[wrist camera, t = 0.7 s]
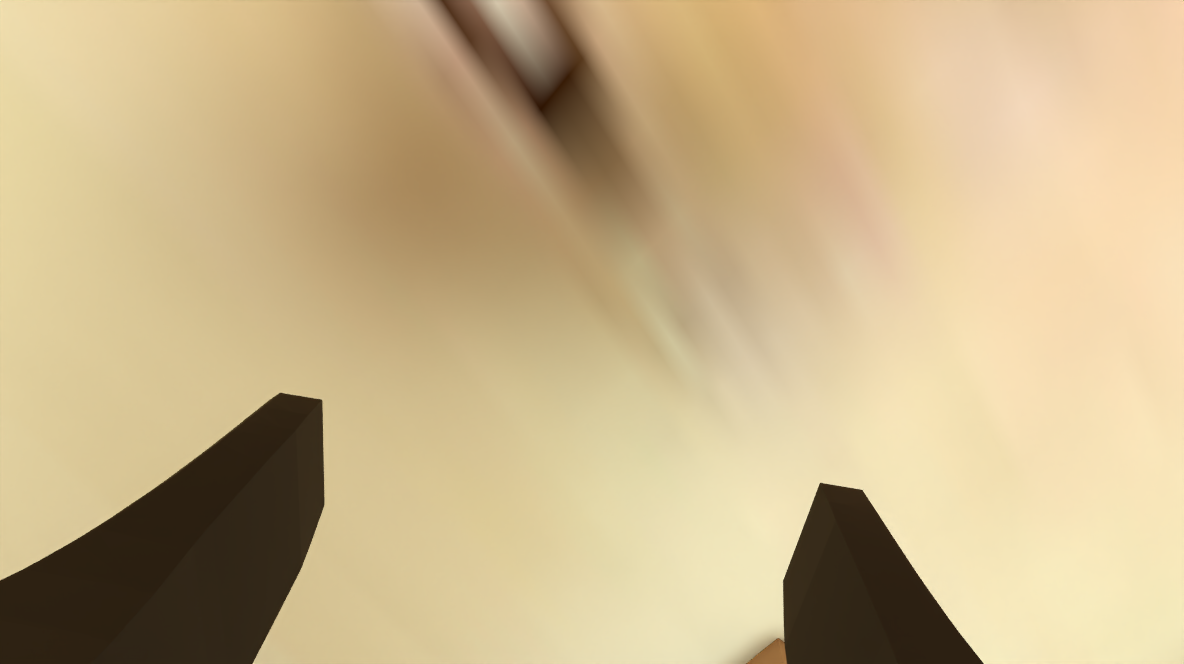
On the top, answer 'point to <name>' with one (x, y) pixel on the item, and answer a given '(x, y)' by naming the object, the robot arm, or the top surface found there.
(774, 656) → the walnut slab
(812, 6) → the top surface
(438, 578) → the top surface
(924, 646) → the robot arm
